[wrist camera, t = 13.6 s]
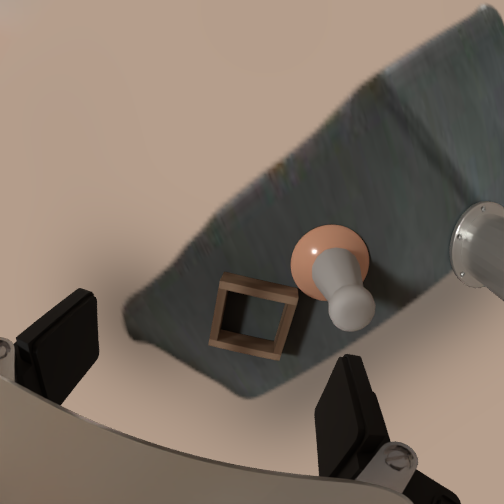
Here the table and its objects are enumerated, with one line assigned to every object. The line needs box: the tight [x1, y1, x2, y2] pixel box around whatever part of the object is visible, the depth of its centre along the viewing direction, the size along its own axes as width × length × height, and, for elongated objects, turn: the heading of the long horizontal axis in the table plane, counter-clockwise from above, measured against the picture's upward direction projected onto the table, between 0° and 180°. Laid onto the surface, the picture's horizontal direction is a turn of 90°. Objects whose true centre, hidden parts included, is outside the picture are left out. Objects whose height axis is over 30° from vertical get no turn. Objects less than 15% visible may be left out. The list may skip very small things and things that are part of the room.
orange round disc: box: [291, 224, 369, 301], centre depth 39 cm, size 10×10×1 cm
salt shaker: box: [312, 247, 375, 332], centre depth 32 cm, size 6×6×13 cm
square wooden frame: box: [209, 272, 299, 361], centre depth 40 cm, size 10×10×3 cm
